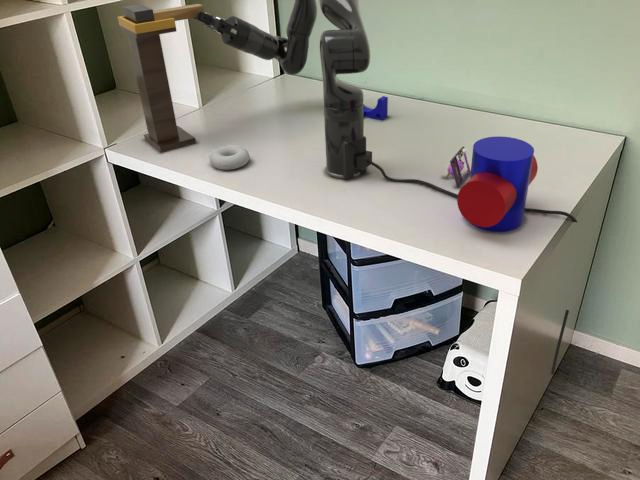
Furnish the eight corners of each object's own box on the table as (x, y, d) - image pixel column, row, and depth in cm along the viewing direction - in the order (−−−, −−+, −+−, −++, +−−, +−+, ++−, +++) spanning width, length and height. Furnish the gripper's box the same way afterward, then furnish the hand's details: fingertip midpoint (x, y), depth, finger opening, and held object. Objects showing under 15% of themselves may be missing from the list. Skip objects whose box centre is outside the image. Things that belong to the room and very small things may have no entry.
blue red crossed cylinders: (485, 192, 143) (493, 126, 134) (536, 204, 138) (547, 136, 129) (449, 231, 129) (455, 160, 120) (504, 246, 124) (515, 174, 115)
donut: (204, 170, 154) (242, 173, 153) (201, 157, 153) (240, 160, 151) (219, 154, 163) (255, 156, 161) (217, 141, 161) (254, 143, 159)
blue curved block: (345, 114, 185) (344, 94, 181) (353, 109, 188) (353, 89, 185) (379, 121, 180) (379, 101, 176) (387, 117, 183) (387, 97, 179)
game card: (454, 160, 142) (466, 145, 149) (433, 163, 145) (446, 149, 151) (461, 187, 145) (473, 171, 151) (441, 189, 148) (453, 174, 154)
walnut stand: (196, 142, 168) (176, 27, 151) (161, 152, 163) (136, 34, 146) (178, 130, 176) (157, 18, 158) (144, 139, 171) (119, 25, 153)
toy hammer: (209, 17, 157) (206, 0, 155) (138, 29, 148) (134, 12, 145) (195, 12, 162) (193, -4, 160) (126, 24, 153) (122, 6, 150)
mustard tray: (176, 27, 151) (174, 18, 150) (136, 34, 146) (134, 25, 145) (157, 18, 158) (156, 10, 157) (119, 25, 153) (117, 16, 152)
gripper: (235, 17, 173) (182, -8, 161) (261, 27, 163) (207, 1, 152) (226, 44, 174) (173, 21, 163) (251, 55, 165) (197, 32, 153)
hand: (190, 12), depth 157 cm, fingers open, 8 cm apart
